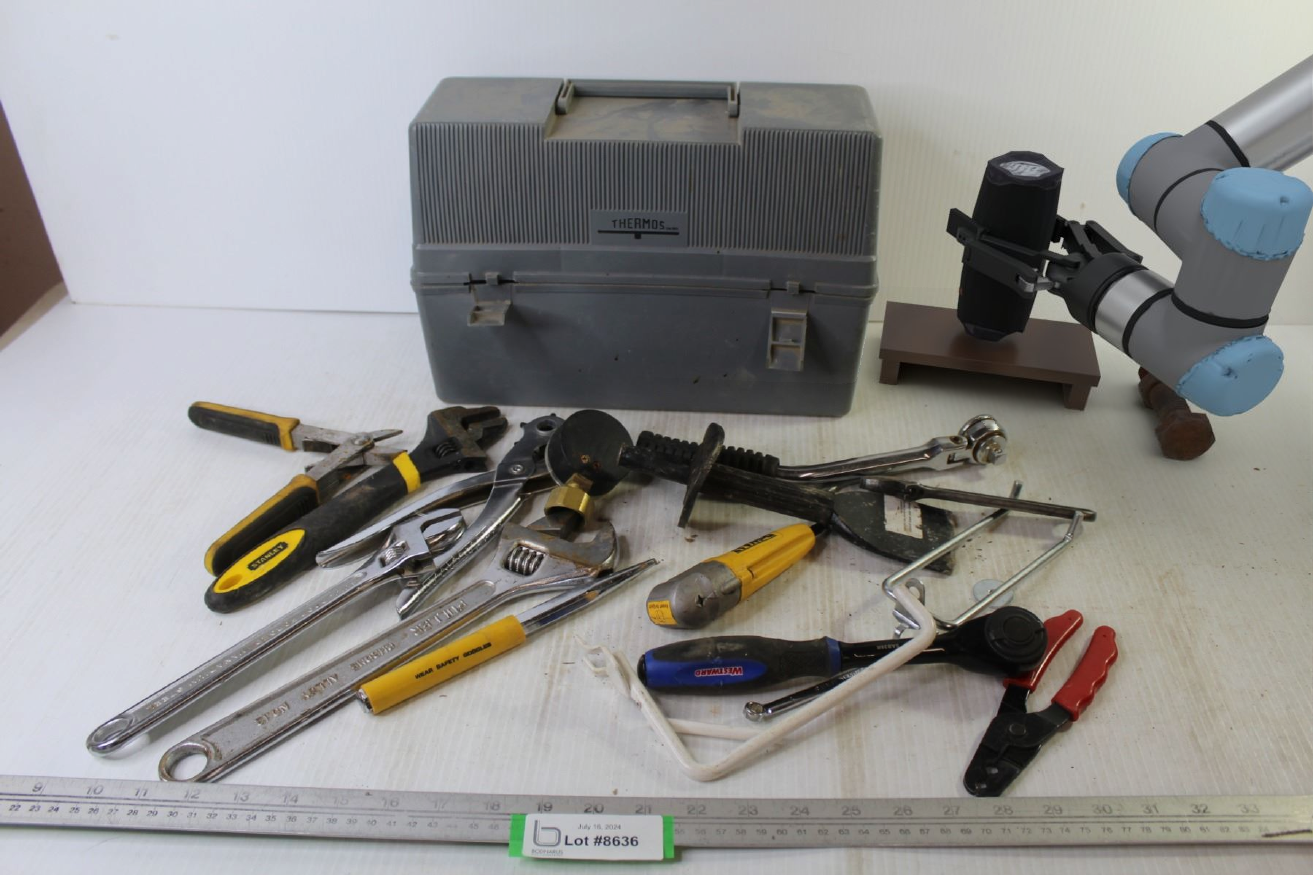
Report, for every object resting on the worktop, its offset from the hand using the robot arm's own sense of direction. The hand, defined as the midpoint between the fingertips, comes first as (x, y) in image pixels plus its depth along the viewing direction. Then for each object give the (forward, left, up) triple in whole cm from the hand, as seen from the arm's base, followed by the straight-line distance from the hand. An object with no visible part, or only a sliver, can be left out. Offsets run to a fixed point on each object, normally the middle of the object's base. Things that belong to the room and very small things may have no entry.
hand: (987, 214), depth 110 cm
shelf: (-2, +4, -18) cm, 19 cm away
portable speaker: (-2, +4, -12) cm, 13 cm away
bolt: (-22, +9, -18) cm, 30 cm away
